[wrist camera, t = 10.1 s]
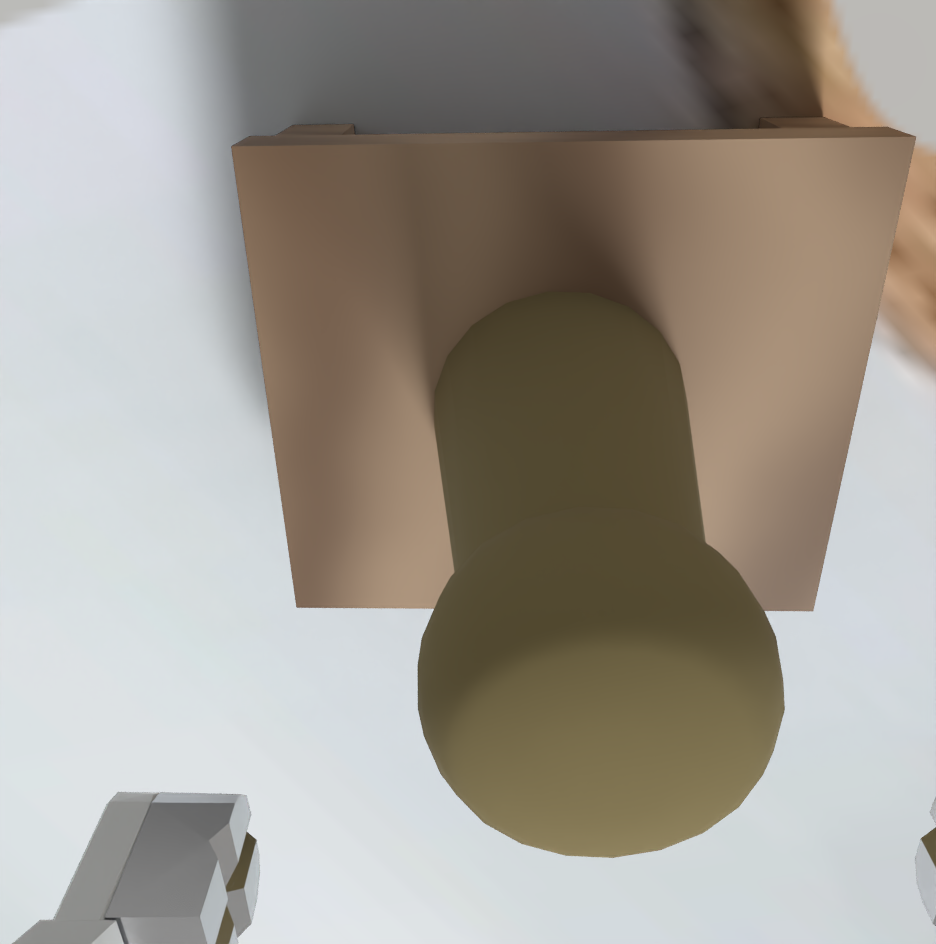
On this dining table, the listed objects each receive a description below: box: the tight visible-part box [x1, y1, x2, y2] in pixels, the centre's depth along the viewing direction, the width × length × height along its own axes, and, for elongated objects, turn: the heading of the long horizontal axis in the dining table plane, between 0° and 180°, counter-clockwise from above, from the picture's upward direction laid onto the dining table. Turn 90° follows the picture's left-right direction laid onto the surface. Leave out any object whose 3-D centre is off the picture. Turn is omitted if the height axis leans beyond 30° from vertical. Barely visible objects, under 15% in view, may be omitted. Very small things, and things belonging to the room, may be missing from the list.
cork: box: [418, 291, 785, 858], centre depth 16 cm, size 6×6×11 cm
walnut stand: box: [231, 117, 916, 611], centre depth 23 cm, size 14×12×5 cm
